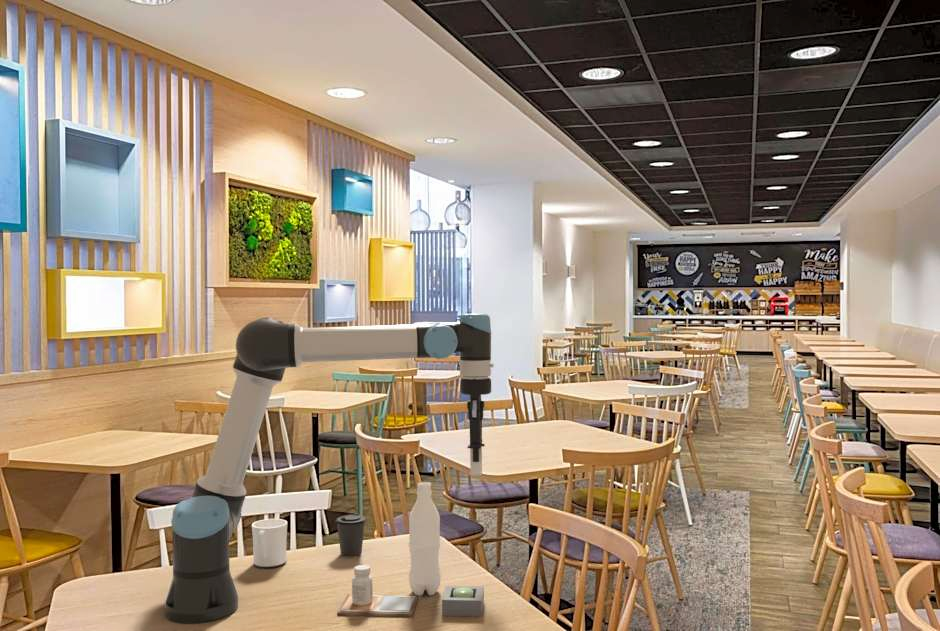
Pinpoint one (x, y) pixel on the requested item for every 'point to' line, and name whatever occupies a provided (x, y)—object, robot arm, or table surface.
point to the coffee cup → (350, 534)
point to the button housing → (463, 602)
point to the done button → (463, 593)
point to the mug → (269, 543)
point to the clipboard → (381, 606)
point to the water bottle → (424, 543)
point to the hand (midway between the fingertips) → (476, 474)
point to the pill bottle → (362, 586)
